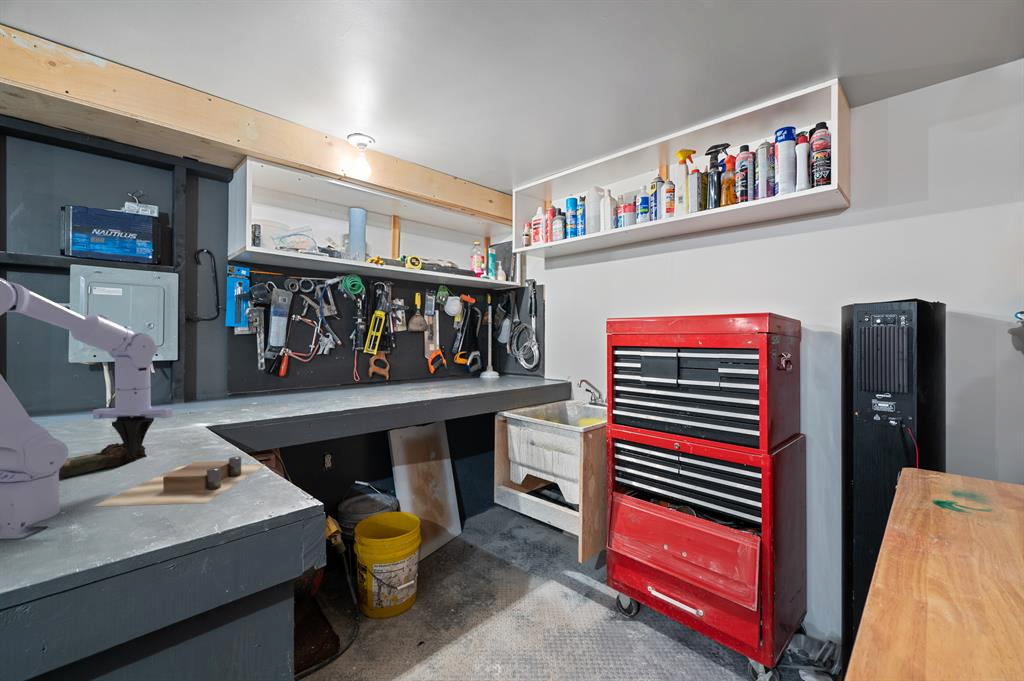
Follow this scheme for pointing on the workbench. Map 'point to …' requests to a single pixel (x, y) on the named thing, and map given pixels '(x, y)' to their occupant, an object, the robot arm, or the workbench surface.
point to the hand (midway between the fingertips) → (133, 451)
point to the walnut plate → (193, 476)
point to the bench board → (155, 495)
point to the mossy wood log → (100, 460)
